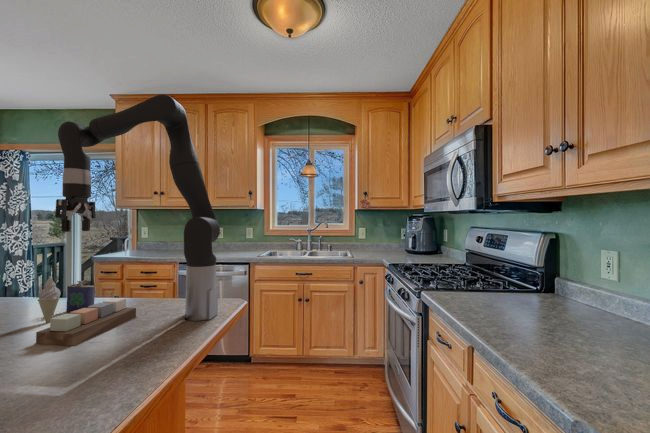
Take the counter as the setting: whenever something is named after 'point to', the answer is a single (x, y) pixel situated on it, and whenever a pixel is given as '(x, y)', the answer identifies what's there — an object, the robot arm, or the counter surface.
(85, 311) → the terracotta key
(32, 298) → the counter surface
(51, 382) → the counter surface
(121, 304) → the ivory key
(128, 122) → the robot arm
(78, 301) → the flask
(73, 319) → the sage key
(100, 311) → the slate key
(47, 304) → the ice cream cone
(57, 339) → the brown wooden tray
